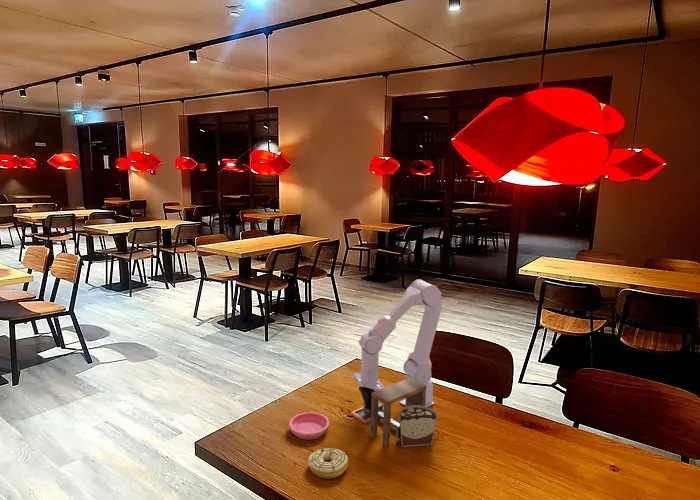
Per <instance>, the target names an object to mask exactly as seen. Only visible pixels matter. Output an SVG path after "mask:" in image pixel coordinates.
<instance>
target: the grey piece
mask: <svg viewBox="0 0 700 500" xmlns="http://www.w3.org/2000/svg"><path fill="white" fill-rule="evenodd" d="M364 406H365V405H364ZM364 406H363V407H364ZM383 408H384V404H383V403H382V402H380V401H378V417H379V418H378V419H380V420H382V421H383V418H384V414H383V413H382V411H383ZM364 414H366V415H367V416H369V417H370V416H371V404H369V405H367V406H365V407H364ZM390 426H392V427H393V428H395V429H396V434H395V436H396V437H395V438H396V439H401V434H400V422H399V423H398V421H397V420H394V419H393V418H391V423H390Z"/></svg>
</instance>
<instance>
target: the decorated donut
mask: <svg viewBox="0 0 700 500" xmlns="http://www.w3.org/2000/svg"><path fill="white" fill-rule="evenodd" d="M348 465H349V458H348V455H347V454H346V453H345V451H343V450H341V449H339V448H335V447H324V448H320V449H317V450H315V451H314V452H312V453H311V454H310V455H309V456H308V460H307V467H308V470H309V471H310V472H312V474H313V475H314V476H317V477H318V478H321V479H326V480H329V479H335V478H339V477H341V476H342V475H343V474H344V472H345V471H346V470H347V468H348Z"/></svg>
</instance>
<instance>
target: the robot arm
mask: <svg viewBox="0 0 700 500" xmlns="http://www.w3.org/2000/svg"><path fill="white" fill-rule="evenodd" d="M441 297H442V292H441V291H440V289H439V288H438V287H437V286H436V285H433V284H431V283H428V282H426V281H425V280H424V279H423V280H422V279H421V278H419V279H416V280H414V281H412V283H411V284H410V285H409V286H408V287H407V288H406V291H405V293H404V295H403V296H402V297H401V299H400V300H399V301H398V302H397V304H396V305H395V306H394V307H393V309H392V310H391V311H390V312H389V313H388V315H382V316H381V317H379V318H378V319H377V322H376V323H375V324H374V325H373V326H372V328H370V329H368V331H367V332H364V333H363V334H362V335H361V337H360V339H359V340H358V345H360V347H361V355H360V356H361V359H360V373H359V372H356V373H354V374H353V377H352V380H354V381H357V382H358V386H359V387H358V390H359V392H360V394H361V396H362V399H363V403H364V406H367V405H369V404H371V397H372V392H374V391H377V390H379V389H382V388H384V386H383V384H382V383H381V382H380V381H379V357H380V355H379V354H380V353H379V352H380V351H382V349H383V345H384V343H385V341H386V339H387V338H388V337H389V336H390V335H391V334H392V333H393V331H394V330H395V329H396V327H397V322H398V321H399V320H400V319H401V318H402V317H403V316H404V315H405V314H406V313H407V312H408V311H409V310H410V309H412V307H414V306H422V307H423V308H424V311H423V315H422V319H421V322H420V325H419V331H418V332H417V333H418V334H417V337H416V341H415V345H414V349H413V351H412V352H410V353H409V354H408V355H407V356H408V357H407V359H406V360H405V362H404V364H403V367H402V368H403V372H404V373H405V374H406V377H405V379H408V378H412V379H414V380H416V381H418V382H420V383H422V384H424V385H427V386H426V404H425V407H428V408H429V407H430V406H432V405H434V404H435V403H434V401H433V393H434V392H433V391H434V384H433V382H432V379H431V378H432V367H433V366H432V362H431V359H430V354H431V352H432V351H431V350H432V346H433V343H434V339H435V335H436V331H437V327H438V323H439V319H440V316H441V312H442V310H443V308H442V300H441ZM399 401H400V402H399V404H400V405H403V406H404V407H406V398H404V399H402V400H399Z"/></svg>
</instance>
